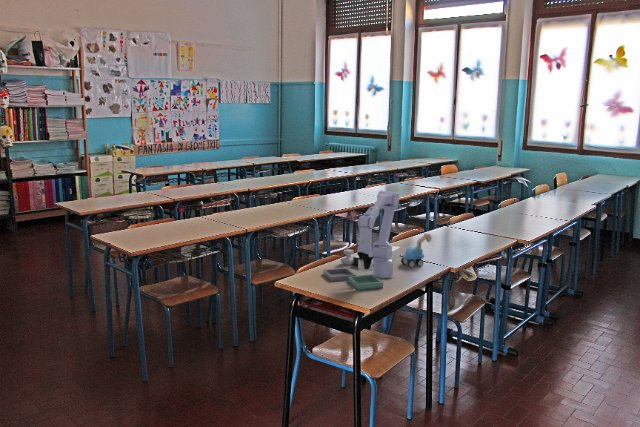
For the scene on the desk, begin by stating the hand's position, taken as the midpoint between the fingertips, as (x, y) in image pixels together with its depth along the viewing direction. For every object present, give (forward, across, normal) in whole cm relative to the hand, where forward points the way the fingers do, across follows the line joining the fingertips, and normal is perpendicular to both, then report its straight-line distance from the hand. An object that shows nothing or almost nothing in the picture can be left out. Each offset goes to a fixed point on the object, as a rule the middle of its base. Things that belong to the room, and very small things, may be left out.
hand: (365, 267), depth 271 cm
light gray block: (+1, 0, 0) cm, 1 cm away
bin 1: (+9, -15, -8) cm, 19 cm away
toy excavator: (+9, -25, +41) cm, 49 cm away
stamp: (+9, -36, +5) cm, 37 cm away
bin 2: (+9, 0, 0) cm, 9 cm away
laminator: (+10, -36, +23) cm, 44 cm away
